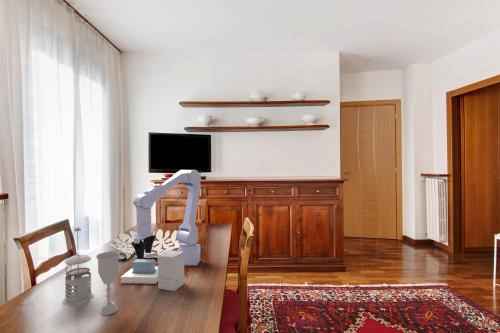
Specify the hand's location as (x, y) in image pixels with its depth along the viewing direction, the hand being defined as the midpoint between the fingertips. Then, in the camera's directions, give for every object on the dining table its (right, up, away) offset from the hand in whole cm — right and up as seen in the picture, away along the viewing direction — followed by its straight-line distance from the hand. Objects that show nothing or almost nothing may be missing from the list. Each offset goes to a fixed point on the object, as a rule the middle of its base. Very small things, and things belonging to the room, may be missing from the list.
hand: (144, 255), depth 119 cm
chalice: (-2, -9, -27) cm, 28 cm away
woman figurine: (-18, -9, +28) cm, 34 cm away
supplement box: (+14, -9, -9) cm, 19 cm away
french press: (-17, -9, -18) cm, 26 cm away
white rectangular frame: (0, -9, 0) cm, 9 cm away
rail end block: (0, -9, 0) cm, 9 cm away
